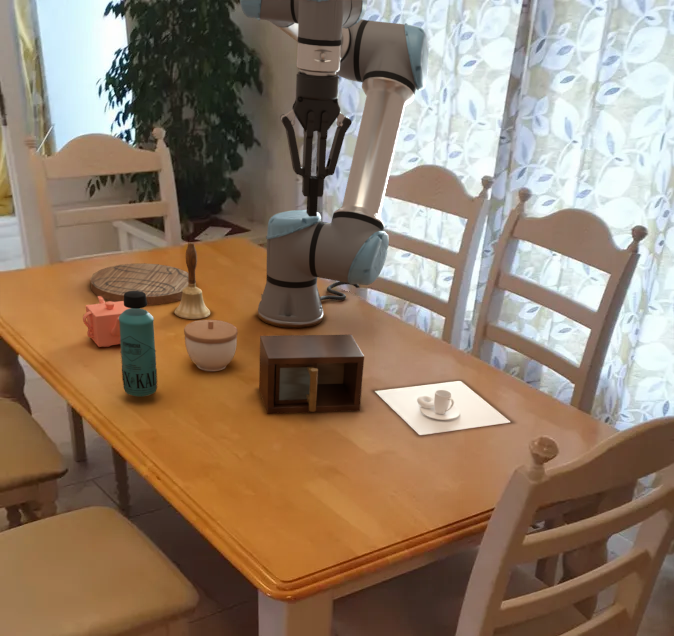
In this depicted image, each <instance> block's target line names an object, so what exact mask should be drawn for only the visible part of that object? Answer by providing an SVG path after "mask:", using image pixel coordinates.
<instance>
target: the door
mask: <svg viewBox="0 0 674 636" xmlns="http://www.w3.org/2000/svg"><path fill="white" fill-rule="evenodd" d="M317 382H318V369H317V363H315V364H276V367H275V404H297V403H308V404H309V411H311V412H310V413H315V412H314V411H316V401H317Z"/></svg>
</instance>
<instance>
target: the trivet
mask: <svg viewBox="0 0 674 636" xmlns="http://www.w3.org/2000/svg"><path fill="white" fill-rule="evenodd" d="M89 280H90V289H91V291H92V292H93V294H94V295H96V296H97V297H98V296H101V297H103V299H104V300H107V301H111V302H118V301H124V293H126V292H128V291H141V292H144V293H145V294H146V300H147V306H153V305H156V306H157V305H162V304H164V305H165V304H170V303H174V302H178V301H181V298H182V290H183V289H184V288H186V287H188V271H186V270H183V269H181V268H178V267H175V266H171V265H167V264H159V263H145V262H144V263H124V264H116V265H112V266H108V267H104V268H102V269H98V270H97V271H95V272H94V273H93V274H92V275H91V277H90V278H89Z"/></svg>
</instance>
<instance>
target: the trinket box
mask: <svg viewBox="0 0 674 636" xmlns="http://www.w3.org/2000/svg"><path fill="white" fill-rule="evenodd" d="M238 332H239V331H238V328H237V327H236V325H234V324H232V323H230V322H228V321H224V320H218V319H198V320H195V321H191V322H189V323H188V324H186V325H185V326H184V327H183V333H184V334H183V335H184V343H185V344H184V345H185V349H186V352H187V356H188V357H189V359H190V360H191V361H192V362H193V363H194V364H195V365H196V367H197V368H198V369H200V370H202V371H205V372H218V371H219V372H220V371H222V370H225V369H226V368H227V366H228V365H229V364H230V363H231V362H232V360H233V359H234V357H235V355H236V351H237V345H238Z"/></svg>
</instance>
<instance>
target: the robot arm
mask: <svg viewBox="0 0 674 636" xmlns="http://www.w3.org/2000/svg"><path fill="white" fill-rule="evenodd" d="M239 4H240V8H241V11H242V13H243V15H244V16H245V17H247V18H249V19H252V20H253V19H254V20H257V21H267V22H270V23H271V24H272V25H274V26H276V27H277V28H278V29H280V30H281V31H282V32H284V34H287V36H289V37H290V38H292V39H293V40H295V42H297V51H296V52H297V53H296V68H297V69H298V70H299V71H298V72H297V73H296V78H295V79H296V80H295V81H296V82H295V99H294V102H293V104H292V109H291V110H289V111H288V112H287V113H285V114H284V113H283V114H281V115H280V117H279V119H280V122H281V123H282V125H283V127H284V129H285V133H286V140H287V144H288V149H289V155H290V160H291V165H292V171H293V172H294V173H295V174H296V175H297V176H301V177H302V182H301V193H302V196H303V197H306V209H295V210H287V211H286V210H285V211H282V212H278V213H275V214H273V215H272V216H271V217H269V219H268V223H267V234H266V236H265V238H266V281H265V285H264V289H263V292H262V293H261V294H260V295H261V296H260V301H259V304H258V308H257V316H258V318H259V320H261V321H262V322H264V323H265V324H268V325H271V326H274V327H280V328H287V329H304V328H311V327H314V326H316V325H318V324H320V323H322V321H323V320H324V308H323V304H322V301H327V300H329V301H330V300H331V301H344V300H345V299H346V298H347V295H346V294H345V293H344V292H341V291H337V290H334V289H333V288H336V287H339V286H344V285H350V286H353V287H355V288H356V289H359V288H360V286H370V285H372V284H373V283H374V282H375V281H376V280H377V279H378V277H379V276H380V274H381V272H382V270H383V268H384V267H385V263H386V260H387V257H388V252H389V251H388V249H389V245H390V239H389V234H388V233H387V232H386V231H385V223H384V222H383V220H382V218H381V213H382V208H383V203H384V199H385V195H386V191H387V190H386V189H387V185H388V181H389V177H390V172H391V168H392V165H393V164H392V163H393V160H394V155H395V150H396V147H397V142H398V137H399V133H400V129H401V124H402V120H403V116H404V112H405V107H406V106H407V105H409V104H411V103H412V102H413V101H414V99H415V95H416V91H422V90H424V89H425V88H426V86H427V82H428V77H429V69H430V51H429V50H430V49H429V48H430V47H429V39H428V35H427V32H426V30H425V29H424V28H423V27H421V26H418V25H412V24H408V22H407V23H406V22H405V23H396V22H387V21H378V20H377V21H376V20H369V19H368V20H367V19H363V18H364V17H365V15H366V11H367V7H368V0H239ZM340 78H343V79H346V80H348V81H352V82H358V83H361V89H362V91H363V92H364V94H365V96H366V97H365V101H364V106H363V110H362V115H361V119H360V124H359V128H358V133H357V138H356V141H355V147H354V150H353V155H352V160H351V164H350V169H349V174H348V176H347V177H348V178H347V182H346V187H345V192H344V195H343V200H342V205H341V207H339V208H338V209H336V210H334V211H333V214H332V217H331V222H326V221H322V216H321V214H320V213H319V212H318V204H319V203H318V202H319V201H318V199H319V198H320V197H321V198H322V197H323V195H324V190H325V189H324V187H325V186H324V185H325V179H326V177H329V176H334V175H335V172H336V168H337V164H338V161H339V157H340V154H341V151H342V147H343V143H344V140H345V136H346V133H347V131H348V130H349V129H350V127H351V125H352V123H353V122H352V119H350V118H349V117H348V116H345V114H343V113H342V112H341V106H340V105H339V91H340ZM295 118H296V119H297V121H298V123H299V124H300V126H301V128H302V129H303V130H302V131H303V143H302V144H303V145H302V146H303V147H302V166H301V160H300V153H299V149H298V143H297V136H296V132H295V129H294V126H295V124H296V121H295ZM335 121H336V126H337V127H336V128H335V133H334V135H333V140H332V143H331V147H330V150H329V155H328V158H327V143H328V142H327V139H328V134H329V133H328V131H329V130H330V128H331V127H332V126H333V124H334V123H335ZM315 132H316V134H317V139H316V140H317V141H316V160H315V161H316V163H315V165H316V166H315V175H312V160H313V143H314V141H313V140H314V133H315ZM326 158H327V162H326ZM318 278H319V279H324V280H330V281H335V282H333V283H331V284H330V285H328V286H327V287H326V291H327V292H328V293H329V294H332V295H321V296H320V292H319V289H318Z"/></svg>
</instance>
